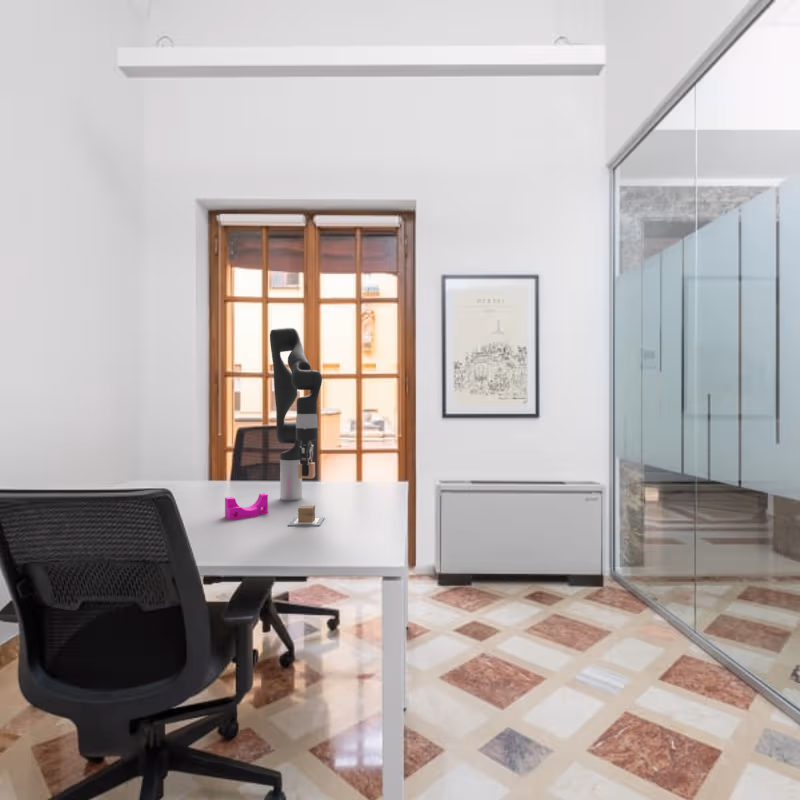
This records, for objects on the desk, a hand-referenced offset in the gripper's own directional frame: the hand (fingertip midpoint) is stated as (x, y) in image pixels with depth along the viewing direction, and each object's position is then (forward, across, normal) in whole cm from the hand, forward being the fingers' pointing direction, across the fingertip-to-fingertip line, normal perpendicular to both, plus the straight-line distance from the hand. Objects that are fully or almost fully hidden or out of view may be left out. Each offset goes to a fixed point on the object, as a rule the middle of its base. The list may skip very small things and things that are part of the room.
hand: (306, 474), depth 188 cm
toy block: (+18, -10, -24) cm, 32 cm away
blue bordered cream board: (+17, 0, 0) cm, 17 cm away
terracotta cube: (+1, 0, 0) cm, 1 cm away
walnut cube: (+16, 0, 0) cm, 16 cm away
